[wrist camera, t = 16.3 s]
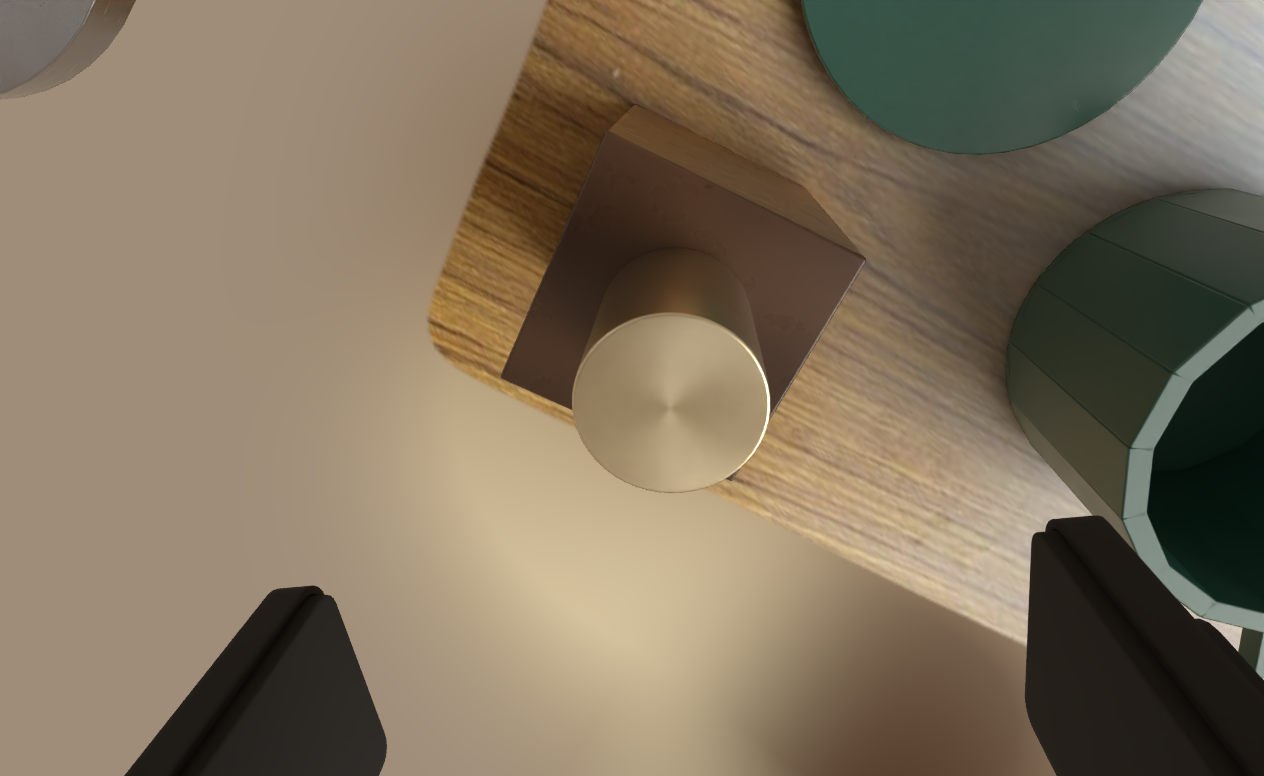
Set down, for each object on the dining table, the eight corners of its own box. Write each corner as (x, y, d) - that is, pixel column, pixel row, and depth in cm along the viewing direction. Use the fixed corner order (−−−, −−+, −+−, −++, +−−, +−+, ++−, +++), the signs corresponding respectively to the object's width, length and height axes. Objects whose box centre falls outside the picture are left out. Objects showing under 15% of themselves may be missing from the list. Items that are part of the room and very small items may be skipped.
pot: (1000, 542, 39) (1103, 704, 29) (1011, 149, 31) (1153, 191, 22) (1298, 515, 37) (1512, 678, 27) (1383, 93, 30) (1715, 113, 20)
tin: (613, 399, 24) (590, 503, 18) (587, 258, 22) (553, 327, 17) (757, 381, 23) (779, 484, 18) (743, 236, 22) (761, 300, 16)
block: (718, 350, 36) (732, 483, 25) (559, 275, 35) (499, 378, 24) (807, 189, 33) (868, 259, 22) (634, 102, 32) (606, 129, 21)
